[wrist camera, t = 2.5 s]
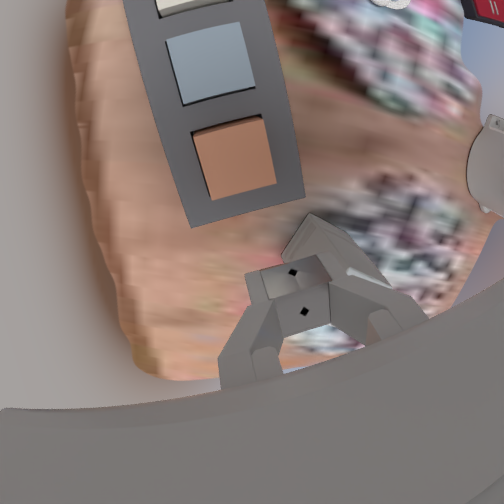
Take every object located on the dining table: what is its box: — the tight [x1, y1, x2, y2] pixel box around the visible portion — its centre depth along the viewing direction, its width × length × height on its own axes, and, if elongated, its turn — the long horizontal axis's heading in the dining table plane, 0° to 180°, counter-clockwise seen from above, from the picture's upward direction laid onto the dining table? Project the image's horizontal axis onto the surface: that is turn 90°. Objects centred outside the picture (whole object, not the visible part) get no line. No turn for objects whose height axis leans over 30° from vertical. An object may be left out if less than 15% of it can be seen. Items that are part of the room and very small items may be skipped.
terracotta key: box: [193, 115, 277, 201], centre depth 26 cm, size 6×6×4 cm
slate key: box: [166, 22, 255, 104], centre depth 21 cm, size 6×6×4 cm
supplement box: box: [281, 213, 392, 327], centre depth 35 cm, size 7×7×13 cm
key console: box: [123, 0, 306, 228], centre depth 24 cm, size 12×30×6 cm, turn 13°
